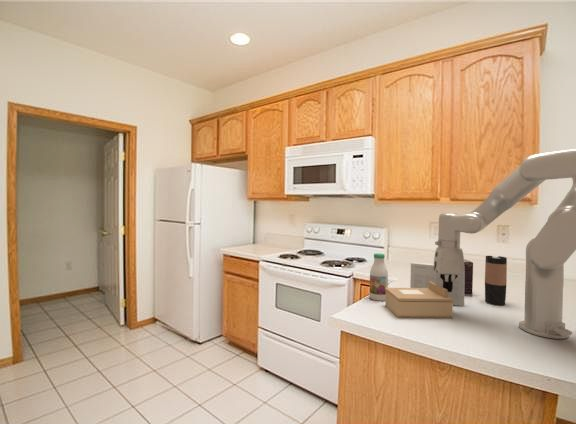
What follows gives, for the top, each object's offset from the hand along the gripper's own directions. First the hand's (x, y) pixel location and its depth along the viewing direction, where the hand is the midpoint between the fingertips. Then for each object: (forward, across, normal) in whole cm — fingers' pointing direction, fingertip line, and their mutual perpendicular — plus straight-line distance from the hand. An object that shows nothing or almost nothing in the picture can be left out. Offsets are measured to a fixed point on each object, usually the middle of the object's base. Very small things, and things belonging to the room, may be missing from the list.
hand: (447, 291), depth 116 cm
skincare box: (+8, +3, +14) cm, 17 cm away
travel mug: (+8, +27, +11) cm, 30 cm away
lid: (+2, -12, 0) cm, 12 cm away
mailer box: (+8, -12, 0) cm, 15 cm away
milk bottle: (+8, -22, +16) cm, 28 cm away
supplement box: (+8, +22, +25) cm, 34 cm away
